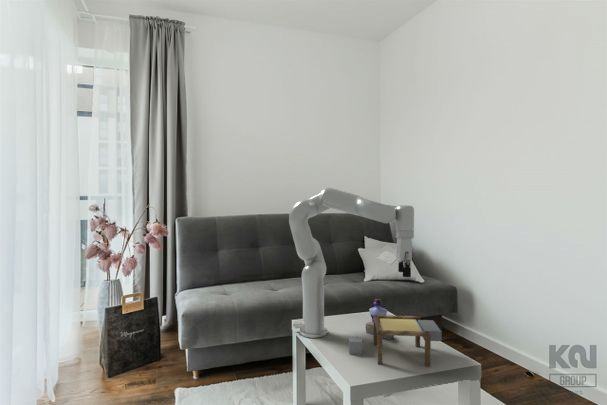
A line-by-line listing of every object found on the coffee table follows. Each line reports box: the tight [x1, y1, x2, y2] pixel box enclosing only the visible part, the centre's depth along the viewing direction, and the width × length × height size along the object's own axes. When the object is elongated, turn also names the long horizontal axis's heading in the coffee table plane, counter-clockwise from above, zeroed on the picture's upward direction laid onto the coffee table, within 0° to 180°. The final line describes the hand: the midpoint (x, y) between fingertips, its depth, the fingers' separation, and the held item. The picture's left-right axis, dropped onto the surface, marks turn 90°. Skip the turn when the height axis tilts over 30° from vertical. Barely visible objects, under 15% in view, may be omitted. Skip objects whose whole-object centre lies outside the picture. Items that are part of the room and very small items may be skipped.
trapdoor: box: [380, 319, 443, 342], centre depth 140 cm, size 21×14×4 cm, turn 84°
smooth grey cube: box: [348, 336, 363, 356], centre depth 143 cm, size 5×5×5 cm
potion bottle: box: [369, 298, 388, 322], centre depth 174 cm, size 9×9×12 cm
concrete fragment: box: [365, 321, 395, 340], centre depth 160 cm, size 7×14×6 cm, turn 29°
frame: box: [372, 314, 432, 368], centre depth 140 cm, size 19×19×12 cm
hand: (404, 274), depth 155 cm, fingers open, 9 cm apart
